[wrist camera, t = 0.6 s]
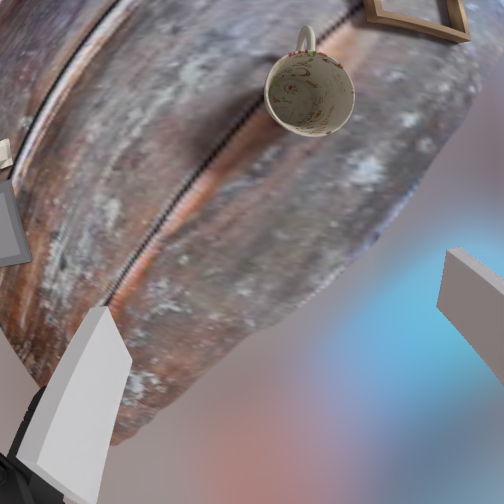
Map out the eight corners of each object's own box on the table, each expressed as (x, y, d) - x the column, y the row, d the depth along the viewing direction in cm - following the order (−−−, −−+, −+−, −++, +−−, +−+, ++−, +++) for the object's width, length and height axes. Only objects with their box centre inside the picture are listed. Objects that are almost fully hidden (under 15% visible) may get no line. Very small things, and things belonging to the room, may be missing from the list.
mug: (253, 132, 34) (262, 134, 25) (257, 35, 29) (267, 5, 20) (321, 136, 35) (352, 141, 26) (324, 42, 30) (355, 19, 21)
